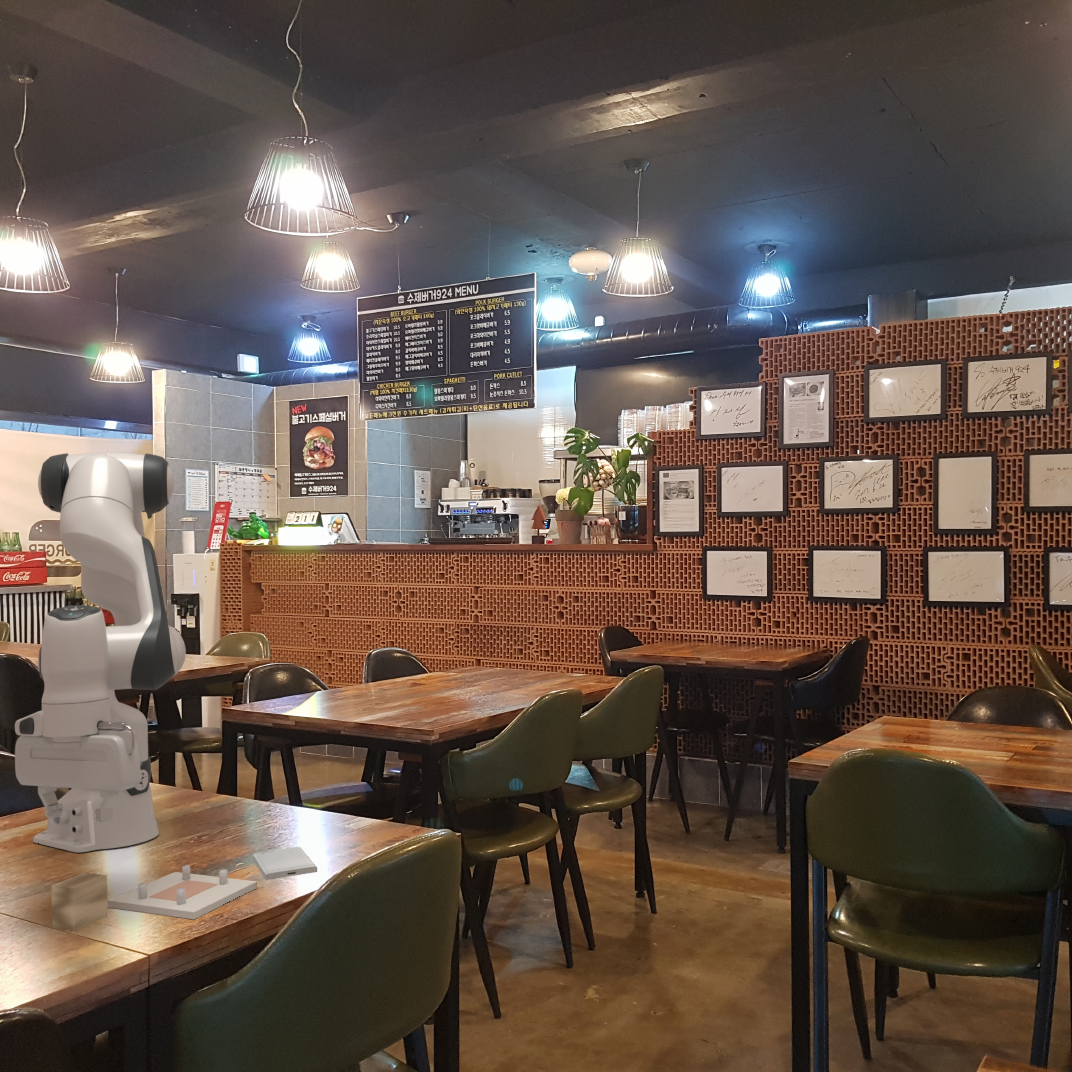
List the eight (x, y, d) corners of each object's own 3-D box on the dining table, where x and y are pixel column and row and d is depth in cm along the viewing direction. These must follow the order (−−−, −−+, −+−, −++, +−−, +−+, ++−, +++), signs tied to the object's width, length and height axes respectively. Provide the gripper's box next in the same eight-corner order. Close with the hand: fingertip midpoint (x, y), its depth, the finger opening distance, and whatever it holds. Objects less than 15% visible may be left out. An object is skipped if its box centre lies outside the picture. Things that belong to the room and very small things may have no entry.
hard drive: (252, 853, 169) (265, 873, 158) (300, 846, 173) (317, 864, 162) (252, 863, 169) (265, 883, 158) (300, 855, 173) (317, 875, 162)
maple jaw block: (52, 928, 139) (51, 885, 139) (86, 914, 145) (85, 872, 145) (73, 932, 138) (73, 888, 138) (107, 917, 143) (106, 875, 143)
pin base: (107, 907, 147) (107, 886, 147) (175, 878, 160) (174, 859, 160) (194, 919, 141) (193, 898, 141) (257, 888, 154) (256, 868, 154)
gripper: (150, 718, 141) (152, 817, 140) (42, 715, 148) (44, 809, 148) (115, 725, 135) (118, 829, 134) (5, 722, 143) (7, 820, 142)
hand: (78, 819), depth 141 cm, fingers open, 8 cm apart
